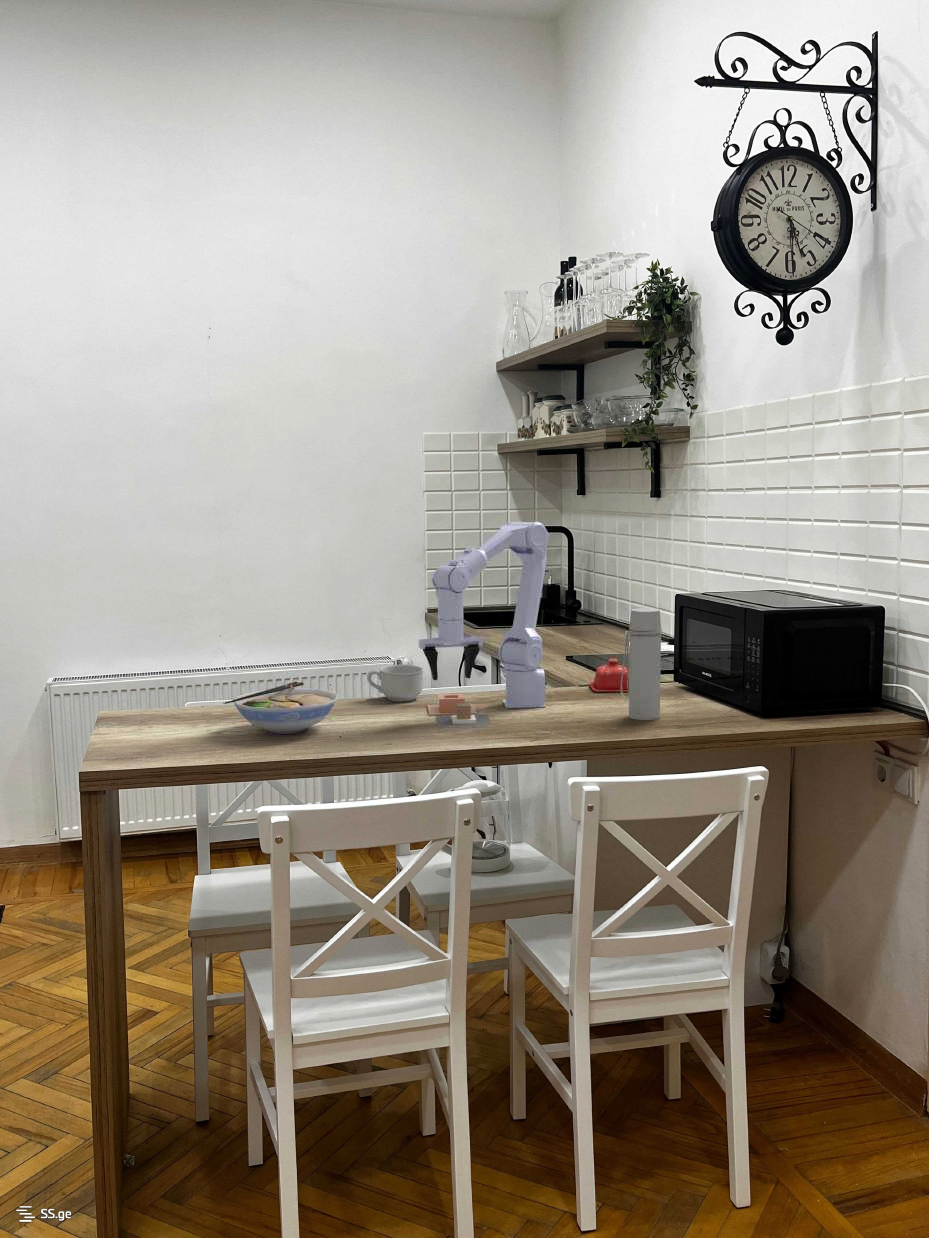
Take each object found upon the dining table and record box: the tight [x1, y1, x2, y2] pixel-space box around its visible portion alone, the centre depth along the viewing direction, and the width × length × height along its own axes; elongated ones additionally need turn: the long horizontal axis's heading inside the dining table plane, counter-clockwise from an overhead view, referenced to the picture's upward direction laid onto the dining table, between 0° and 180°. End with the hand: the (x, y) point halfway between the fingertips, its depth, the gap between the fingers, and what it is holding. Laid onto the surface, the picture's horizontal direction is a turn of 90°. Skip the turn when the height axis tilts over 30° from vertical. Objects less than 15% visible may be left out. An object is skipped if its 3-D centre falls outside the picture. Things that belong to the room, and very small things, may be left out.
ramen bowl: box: [222, 681, 339, 735], centre depth 234 cm, size 25×23×8 cm
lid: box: [450, 702, 476, 724], centre depth 240 cm, size 5×5×4 cm
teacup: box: [366, 664, 424, 703], centre depth 268 cm, size 14×11×8 cm
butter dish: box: [589, 658, 627, 693], centre depth 277 cm, size 12×12×8 cm
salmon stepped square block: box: [426, 693, 478, 717], centre depth 253 cm, size 11×11×4 cm
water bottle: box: [620, 607, 663, 721], centre depth 241 cm, size 9×8×25 cm
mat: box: [435, 714, 493, 729], centre depth 241 cm, size 12×12×1 cm
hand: (451, 678), depth 242 cm, fingers open, 7 cm apart
